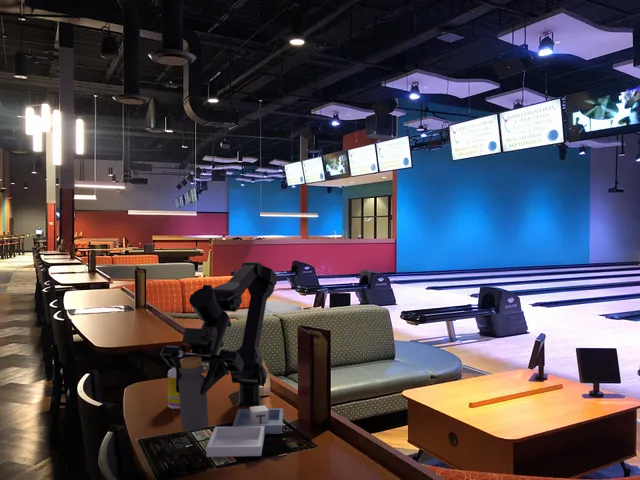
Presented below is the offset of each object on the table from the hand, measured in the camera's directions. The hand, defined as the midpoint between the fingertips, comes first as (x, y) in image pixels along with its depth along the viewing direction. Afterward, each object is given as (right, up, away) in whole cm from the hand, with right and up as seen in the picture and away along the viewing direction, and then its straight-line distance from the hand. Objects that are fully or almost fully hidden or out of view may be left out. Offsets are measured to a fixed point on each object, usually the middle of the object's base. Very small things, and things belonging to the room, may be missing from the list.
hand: (189, 393), depth 114 cm
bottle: (+1, -8, +1) cm, 8 cm away
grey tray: (+10, -13, +3) cm, 17 cm away
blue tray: (+13, -13, +15) cm, 24 cm away
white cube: (+13, -12, +15) cm, 24 cm away
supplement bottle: (-10, -13, +30) cm, 34 cm away
